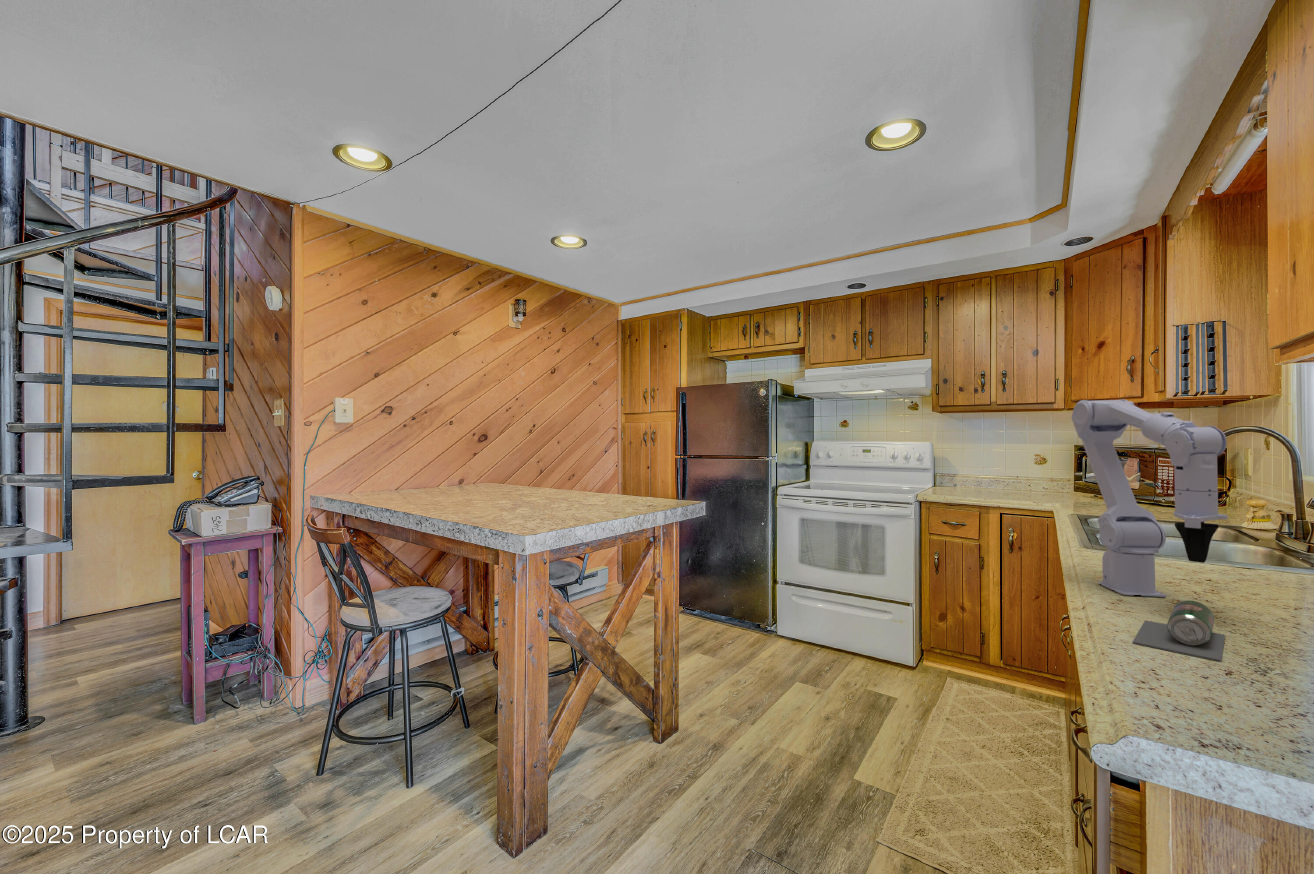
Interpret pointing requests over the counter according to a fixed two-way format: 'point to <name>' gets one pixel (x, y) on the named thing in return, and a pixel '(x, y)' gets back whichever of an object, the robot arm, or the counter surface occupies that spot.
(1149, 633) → the mat
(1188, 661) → the counter surface
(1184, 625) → the soda can
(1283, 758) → the counter surface
